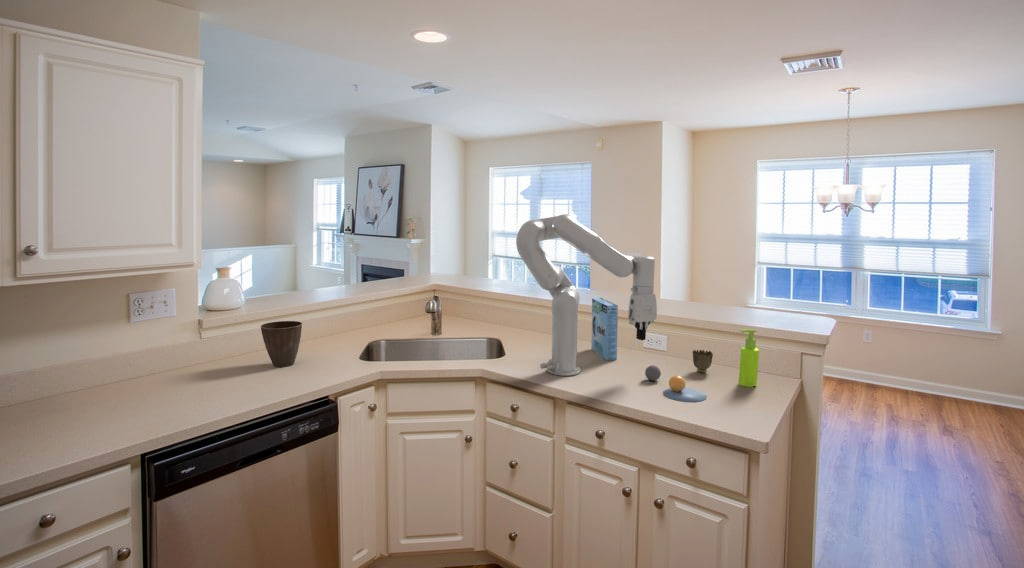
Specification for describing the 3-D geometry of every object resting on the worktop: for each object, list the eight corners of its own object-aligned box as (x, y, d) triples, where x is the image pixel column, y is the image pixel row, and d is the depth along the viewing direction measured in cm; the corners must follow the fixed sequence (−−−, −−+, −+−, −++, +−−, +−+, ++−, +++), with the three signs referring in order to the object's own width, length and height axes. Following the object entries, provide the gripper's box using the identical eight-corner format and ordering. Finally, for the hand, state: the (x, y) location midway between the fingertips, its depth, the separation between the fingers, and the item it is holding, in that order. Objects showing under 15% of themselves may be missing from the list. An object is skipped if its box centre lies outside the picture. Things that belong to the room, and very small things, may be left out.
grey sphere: (642, 364, 203) (641, 379, 203) (654, 365, 199) (653, 381, 199) (652, 364, 207) (651, 379, 206) (664, 366, 202) (663, 381, 202)
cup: (713, 375, 209) (714, 355, 208) (692, 374, 211) (693, 353, 210) (710, 370, 217) (711, 350, 215) (690, 368, 218) (691, 348, 217)
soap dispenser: (733, 382, 202) (736, 327, 199) (751, 381, 202) (755, 327, 200) (740, 387, 196) (744, 331, 193) (759, 387, 197) (763, 331, 194)
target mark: (684, 404, 178) (684, 404, 178) (654, 391, 191) (654, 391, 191) (716, 398, 185) (716, 397, 185) (684, 385, 197) (685, 385, 197)
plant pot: (253, 367, 215) (251, 326, 213) (283, 357, 228) (281, 319, 226) (283, 371, 209) (281, 330, 207) (312, 361, 223) (310, 322, 221)
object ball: (664, 376, 192) (666, 392, 192) (676, 377, 187) (677, 393, 187) (676, 373, 194) (677, 389, 194) (688, 375, 190) (689, 391, 189)
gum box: (616, 360, 230) (618, 305, 226) (605, 360, 229) (606, 305, 225) (601, 348, 248) (602, 297, 245) (590, 348, 248) (591, 297, 244)
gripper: (633, 292, 197) (631, 343, 199) (665, 290, 203) (663, 339, 206) (620, 289, 203) (618, 339, 206) (651, 287, 210) (649, 335, 213)
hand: (640, 339), depth 206 cm, fingers closed
